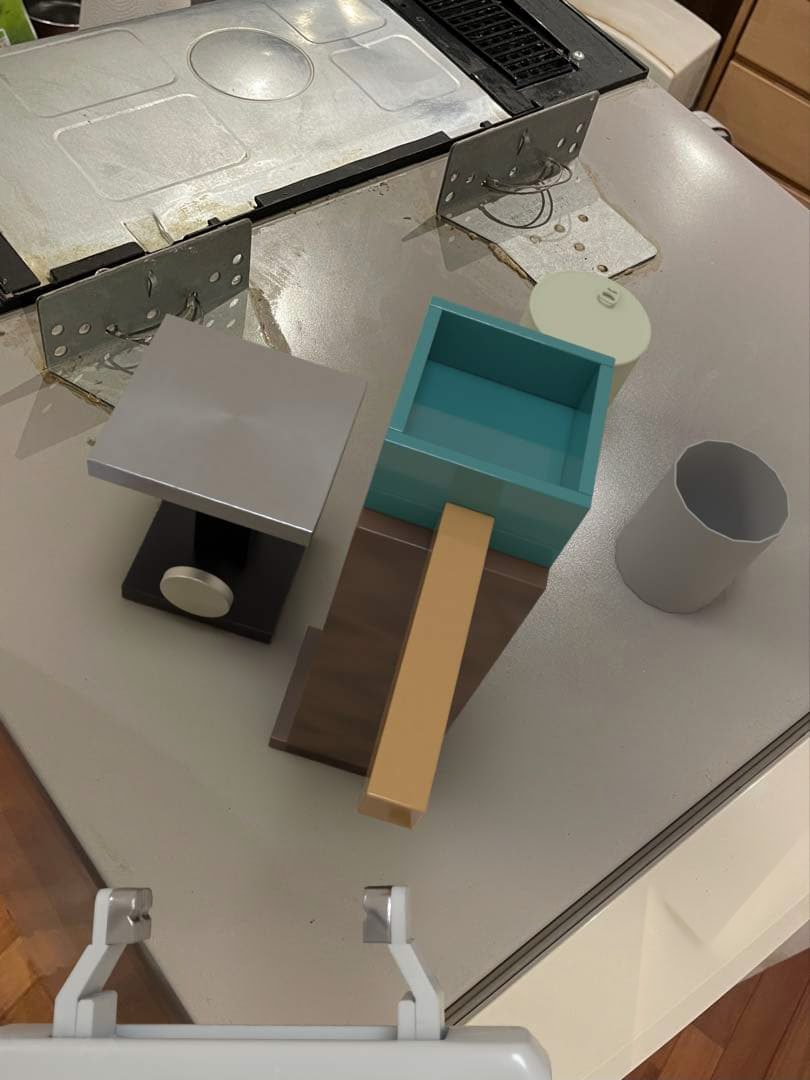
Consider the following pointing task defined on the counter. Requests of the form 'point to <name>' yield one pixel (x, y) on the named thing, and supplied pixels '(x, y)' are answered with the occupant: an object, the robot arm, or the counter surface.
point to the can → (591, 318)
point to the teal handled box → (474, 505)
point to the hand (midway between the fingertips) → (254, 886)
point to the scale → (225, 471)
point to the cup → (702, 526)
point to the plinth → (388, 641)
